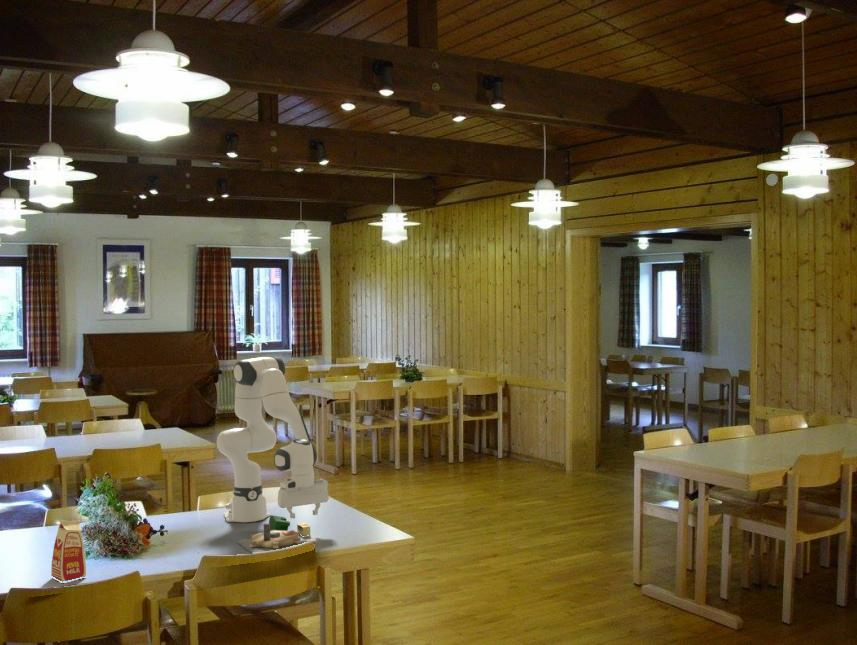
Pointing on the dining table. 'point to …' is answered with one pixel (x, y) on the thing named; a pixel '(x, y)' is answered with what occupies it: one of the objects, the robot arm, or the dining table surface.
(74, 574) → the milk carton
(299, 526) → the beige small block
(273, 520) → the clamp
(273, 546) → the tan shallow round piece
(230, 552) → the dining table surface
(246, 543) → the base plate
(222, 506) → the dining table surface
